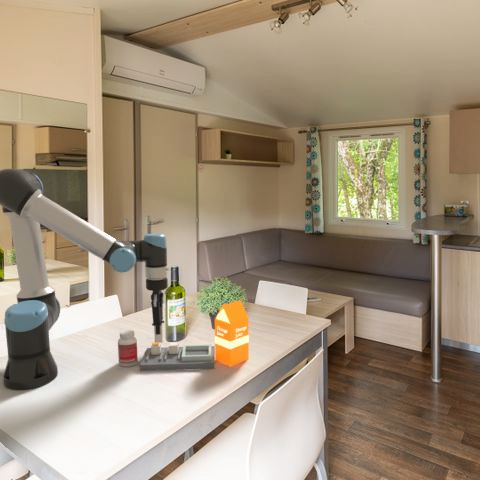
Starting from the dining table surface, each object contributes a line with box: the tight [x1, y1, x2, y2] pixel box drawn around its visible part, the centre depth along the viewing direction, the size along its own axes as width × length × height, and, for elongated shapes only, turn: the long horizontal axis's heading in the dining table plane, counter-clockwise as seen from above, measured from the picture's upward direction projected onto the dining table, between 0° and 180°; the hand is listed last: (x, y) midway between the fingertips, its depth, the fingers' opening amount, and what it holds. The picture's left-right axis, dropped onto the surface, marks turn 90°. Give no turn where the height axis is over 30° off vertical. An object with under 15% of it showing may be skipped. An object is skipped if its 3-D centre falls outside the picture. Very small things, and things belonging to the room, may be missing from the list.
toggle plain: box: [168, 341, 180, 354], centre depth 146 cm, size 3×3×3 cm
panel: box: [139, 344, 216, 372], centre depth 144 cm, size 24×14×4 cm, turn 93°
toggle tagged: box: [150, 341, 162, 355], centre depth 146 cm, size 3×3×3 cm
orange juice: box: [214, 299, 250, 367], centre depth 144 cm, size 8×9×20 cm
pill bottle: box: [117, 329, 139, 368], centre depth 142 cm, size 6×6×11 cm
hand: (158, 341), depth 152 cm, fingers closed
